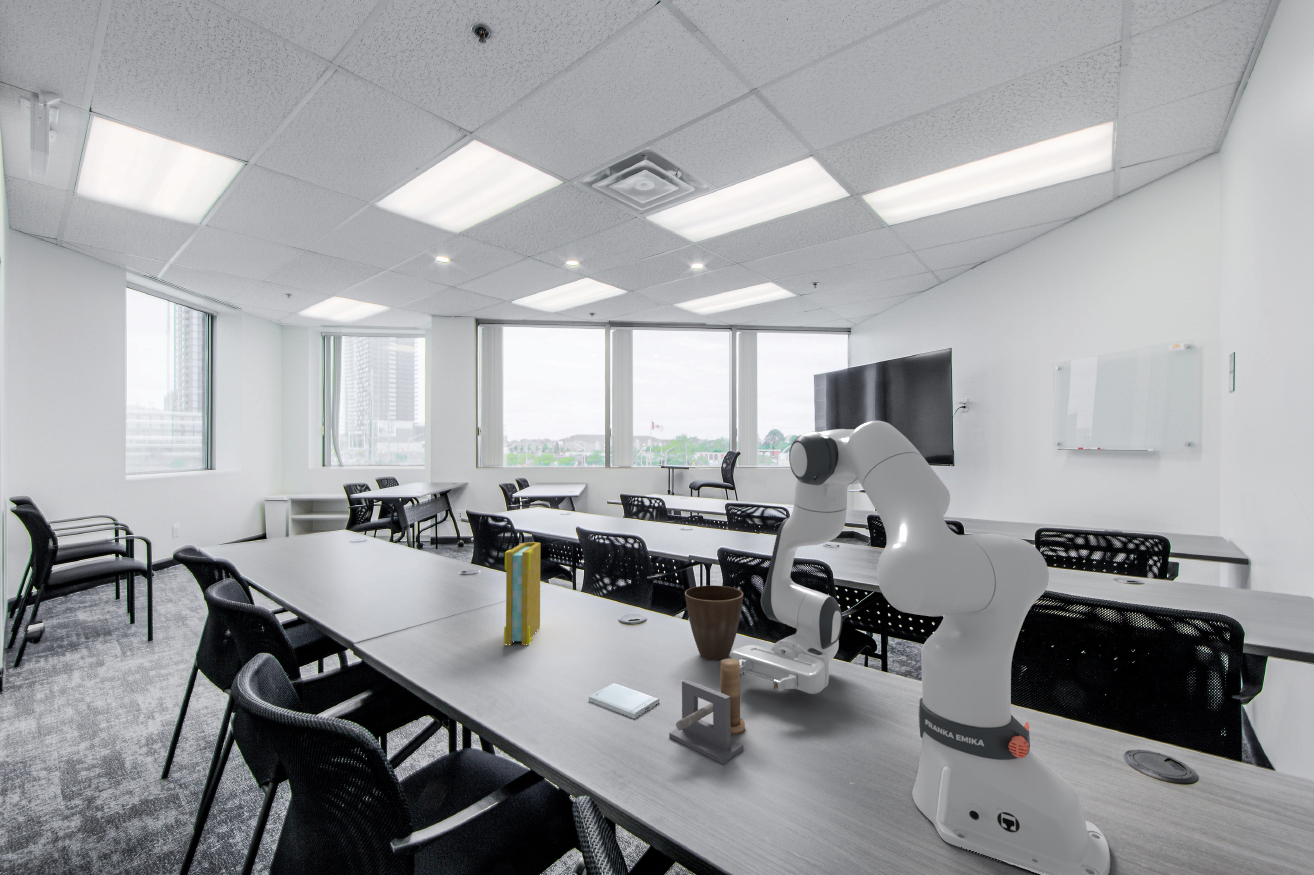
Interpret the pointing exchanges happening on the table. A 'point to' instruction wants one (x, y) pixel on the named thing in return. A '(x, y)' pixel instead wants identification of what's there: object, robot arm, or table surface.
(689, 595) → the plant pot
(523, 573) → the book
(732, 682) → the hammer
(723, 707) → the grey square frame stand
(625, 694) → the hard drive
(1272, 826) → the table surface
